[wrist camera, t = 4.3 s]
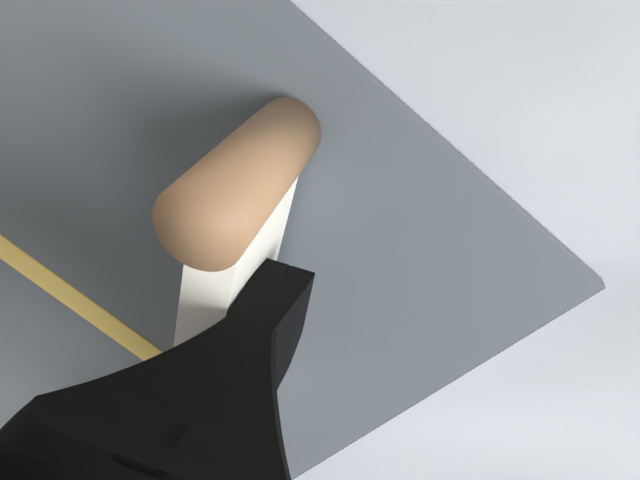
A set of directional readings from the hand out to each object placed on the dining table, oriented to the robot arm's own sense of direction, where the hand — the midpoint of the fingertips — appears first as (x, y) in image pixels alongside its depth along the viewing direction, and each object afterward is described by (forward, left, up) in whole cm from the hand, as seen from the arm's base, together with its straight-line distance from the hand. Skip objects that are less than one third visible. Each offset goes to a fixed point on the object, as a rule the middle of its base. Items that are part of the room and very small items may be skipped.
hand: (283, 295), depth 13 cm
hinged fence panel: (+1, +1, -1) cm, 2 cm away
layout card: (+2, +7, -2) cm, 8 cm away
